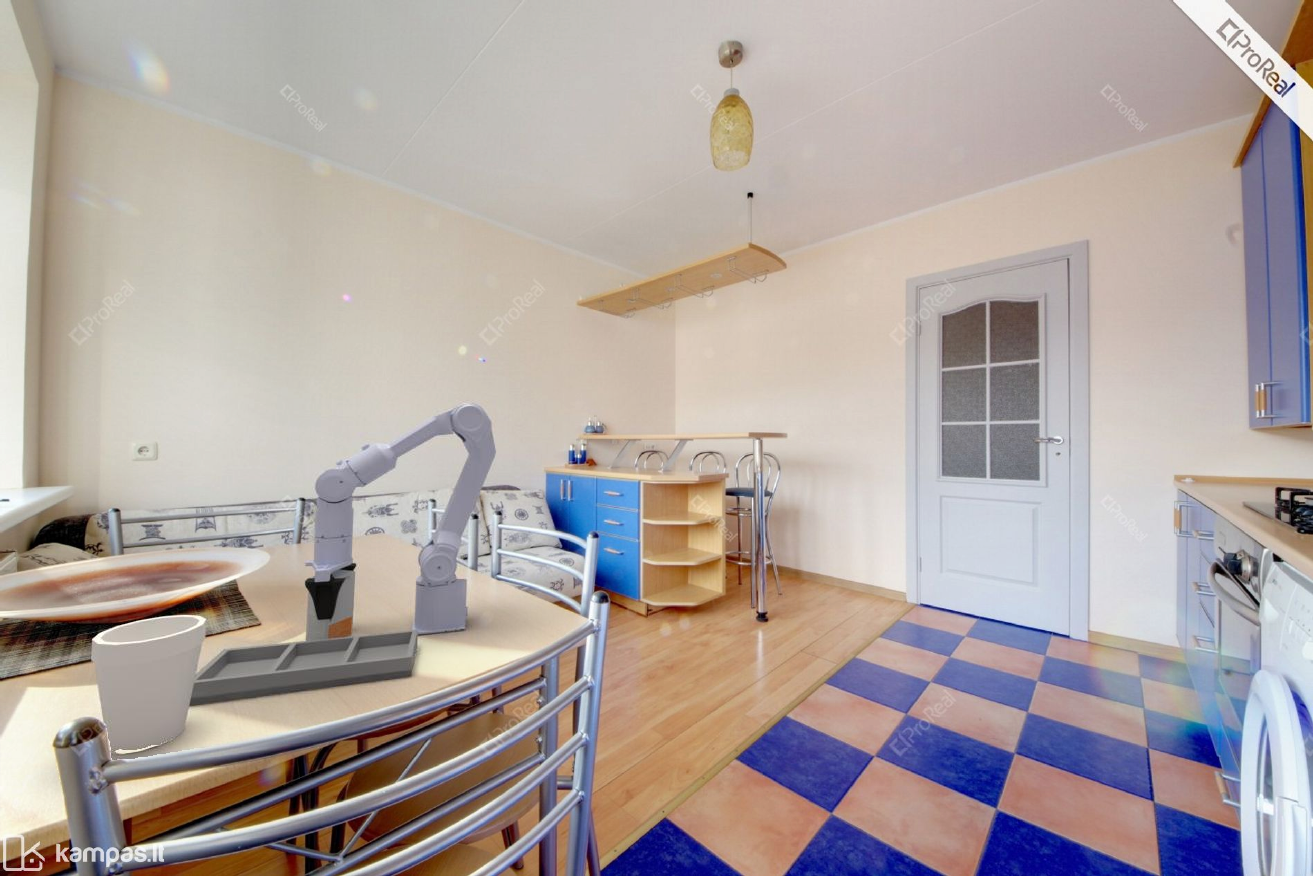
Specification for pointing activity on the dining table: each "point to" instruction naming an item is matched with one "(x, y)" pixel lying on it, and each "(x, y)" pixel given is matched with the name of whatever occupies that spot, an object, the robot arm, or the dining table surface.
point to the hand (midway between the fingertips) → (330, 611)
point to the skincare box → (342, 615)
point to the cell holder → (304, 666)
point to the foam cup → (147, 678)
